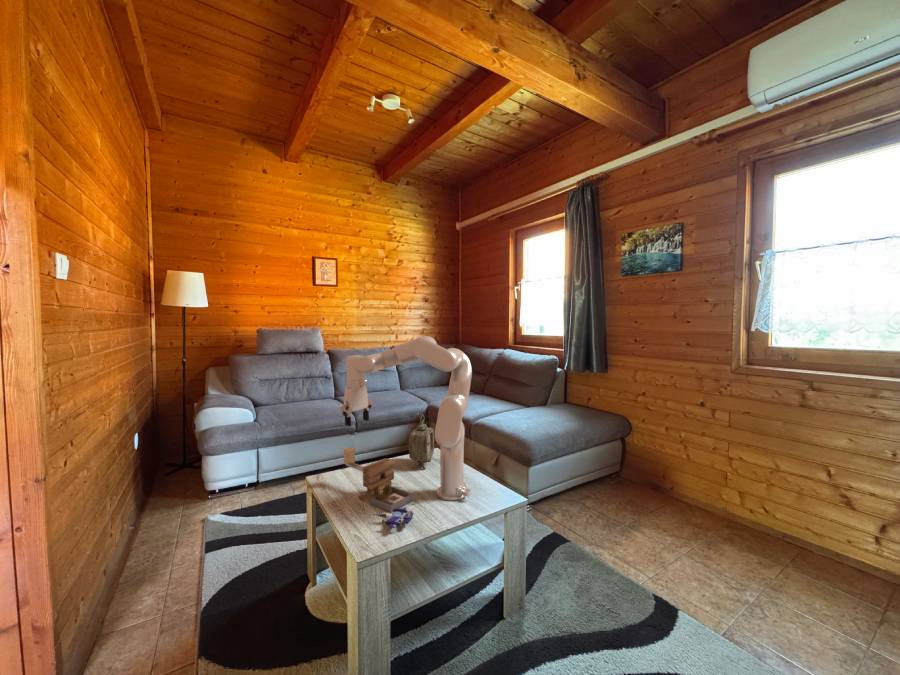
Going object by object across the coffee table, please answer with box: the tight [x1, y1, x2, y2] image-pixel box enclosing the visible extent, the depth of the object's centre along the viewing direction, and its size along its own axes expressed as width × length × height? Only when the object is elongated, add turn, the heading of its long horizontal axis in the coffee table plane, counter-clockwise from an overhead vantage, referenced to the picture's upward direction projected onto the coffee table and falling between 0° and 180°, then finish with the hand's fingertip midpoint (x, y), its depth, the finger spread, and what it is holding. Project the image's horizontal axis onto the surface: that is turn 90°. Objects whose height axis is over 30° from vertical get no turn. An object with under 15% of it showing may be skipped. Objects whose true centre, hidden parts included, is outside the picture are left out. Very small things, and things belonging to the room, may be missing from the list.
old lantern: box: [408, 414, 435, 470], centre depth 180 cm, size 14×9×25 cm, turn 168°
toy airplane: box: [371, 506, 414, 529], centre depth 128 cm, size 13×14×4 cm
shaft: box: [343, 447, 382, 478], centre depth 153 cm, size 22×4×8 cm, turn 53°
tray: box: [369, 485, 414, 514], centre depth 143 cm, size 12×12×2 cm
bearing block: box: [357, 457, 395, 504], centre depth 148 cm, size 8×12×14 cm
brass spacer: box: [378, 480, 392, 501], centre depth 146 cm, size 1×6×6 cm, turn 142°
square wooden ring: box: [383, 493, 405, 506], centre depth 142 cm, size 1×6×6 cm
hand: (357, 422), depth 158 cm, fingers open, 9 cm apart
